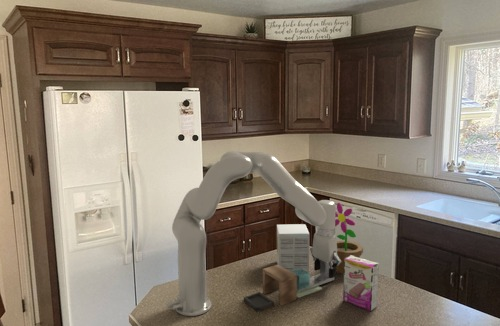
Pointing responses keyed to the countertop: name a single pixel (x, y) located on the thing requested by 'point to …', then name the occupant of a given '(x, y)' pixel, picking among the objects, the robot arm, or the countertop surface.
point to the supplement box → (293, 247)
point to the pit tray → (258, 301)
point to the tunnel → (280, 283)
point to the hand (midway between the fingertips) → (324, 273)
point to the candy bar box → (361, 282)
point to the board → (308, 291)
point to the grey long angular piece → (312, 277)
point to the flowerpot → (346, 246)
